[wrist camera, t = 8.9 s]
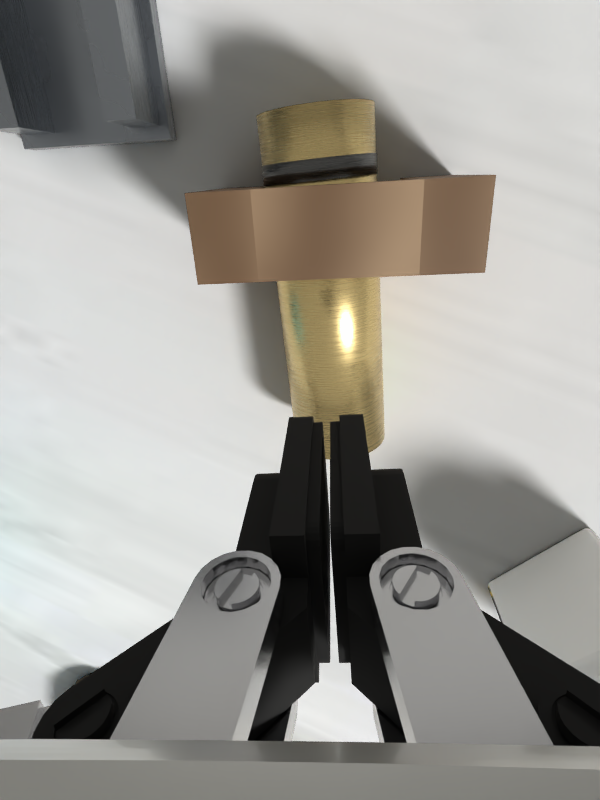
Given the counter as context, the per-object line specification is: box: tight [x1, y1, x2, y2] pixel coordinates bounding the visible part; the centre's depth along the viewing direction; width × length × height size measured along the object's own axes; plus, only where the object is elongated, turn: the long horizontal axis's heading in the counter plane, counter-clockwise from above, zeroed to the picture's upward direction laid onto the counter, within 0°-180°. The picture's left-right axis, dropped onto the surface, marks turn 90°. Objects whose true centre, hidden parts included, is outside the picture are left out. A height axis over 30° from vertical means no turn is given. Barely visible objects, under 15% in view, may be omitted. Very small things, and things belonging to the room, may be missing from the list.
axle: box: [256, 99, 384, 459], centre depth 20 cm, size 14×4×4 cm, turn 6°
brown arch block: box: [185, 175, 496, 285], centre depth 18 cm, size 10×3×6 cm, turn 93°
